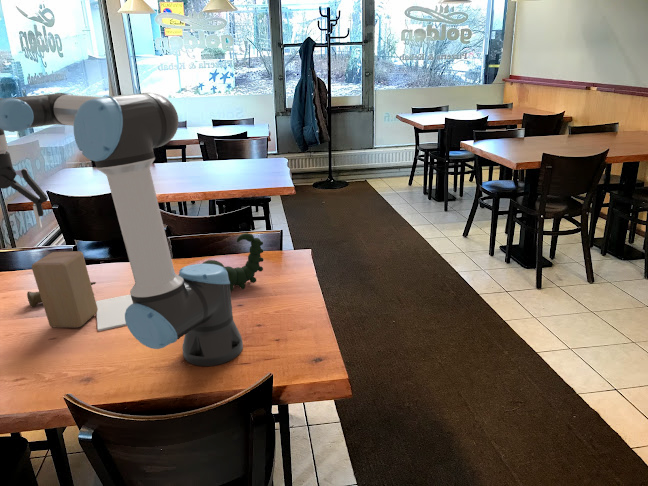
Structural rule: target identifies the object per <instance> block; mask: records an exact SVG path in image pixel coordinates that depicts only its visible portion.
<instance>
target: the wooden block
mask: <svg viewBox="0 0 648 486" xmlns="http://www.w3.org/2000/svg"><path fill="white" fill-rule="evenodd" d="M31 270H32V273H33V277H34V280H35V283H36V285H37V289H38V292H39V293H40V296H41V299H42V302H41V303H42V306H43V308H44V312H45V315H46V318H47V322H48V324H49V327H51V328H80V327H82V326H83V325H85V323H87V322H88V321H89V320H90V319H91V318H92V317H94V315H97V311H98V308H97V304H96V301H97V300H96V297H95V293H94V291H93V285H91V283H92V282H91V280H90V279H91V278H90V275H89V271H88V268H87V264H86V260H85V257H84V253H83V252H82V251H78V250H77V251H52V252H50V253H48V254H47V255H45V256H44V257H42V258H40V259H38V260H37V261H35V262H34V263H32V265H31Z"/></svg>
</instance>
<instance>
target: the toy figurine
mask: <svg viewBox="0 0 648 486" xmlns="http://www.w3.org/2000/svg"><path fill="white" fill-rule="evenodd" d="M244 240H245V241H246V242H250V247H249V254H248V256H247V261H246V263H245V265H243V266H241V267H232V266H225V265H224V264H223V263H222V262H220V261H219V260H214V259H208V260H206V261H203V262H202V263H201V264H215V265H219V266H222V267H224V268H225V269H226V270H227V272H228V278H229V281H230V292H232V291H233V290H234V288H235V287H239V289H241V290H244V289H245V288H246V283H247V282H249V281H250V283H251V284H252V283H253V284H255V283H256V282H257V277H255V273H257V272H263V271H264V267H263V266H262V265H261V264H260V263H262V262H264V258H263V257H262V256H261V254H263V253H264V249H263V248H262V247H261V246H263V245H264V242H263V241H262V240H261V239H260V238H258V237H254V235H253V234H252V233H247V232H246V233H245V232H244V233H242V234H240V235H239V236H238V237H237V239H236V242H237V243H239V242H241V241H244ZM234 286H235V287H234Z"/></svg>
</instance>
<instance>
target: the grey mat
mask: <svg viewBox="0 0 648 486" xmlns="http://www.w3.org/2000/svg"><path fill="white" fill-rule="evenodd" d="M95 301H96V304H97V308H98V311H97V313H96V324H97V331H98V332H102V331H107V330H111V329H115V328H119V327H121V328H122V327H125V326H127V324H126V321H125V312H126V309H127V308H128V307H129V306H130V305H131V304H133V301H132V298H131V294H126V295H125V294H124V295H120V296H115V297H111V298H105V299H101V300H95Z"/></svg>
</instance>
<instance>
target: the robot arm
mask: <svg viewBox="0 0 648 486" xmlns="http://www.w3.org/2000/svg"><path fill="white" fill-rule="evenodd" d="M52 125H53V126H54V125H62V126H70V127H71V126H73V138H74V141H75V143H76V147H77V148H78V150H79V151H80V152H81V153H82V155H83V157H84V158H87V159H88V160H90V161H93V162H94V164H95V167H96V170H97V171H99V172H100V173H102V174H104V175H105V176H106V178H107V181H108V185H109V189H110V193H111V197H112V200H113V204H114V208H115V211H116V216H117V220H118V223H119V227H120V231H121V235H122V238H123V242H124V246H125V249H126V253H127V258H128V261H129V265H130V269H131V272H132V276H133V279H134V284H133V286H132V287H131V289H130V291H129V293H130V294H131V298H132V301H133V304H131V305H130V306H129V307H128V308H127V309H126V312H125V321H126V324H127V325H126V327H127V329H128V330H129V332H130V333H131V334H132V336H133V337H134V338H135V339H136V340H137V341H138V342H139V343H140V344H142V345H143V346H145V347H147V348H149V349H153V350H160V349H164V348H165V347H167V346H170V345H171V344H174V343H176V342H177V341H178V340H179V339H181V338H182V337H184V338H183V342H182V349H181V350H182V355H183V359H185V361H186V362H187V363H189V364H192V365H194V366H198V367H213V366H214V367H215V366H218V365H222V364H225V363H228V362H230V361H232V360H234V359H235V358H237V357H238V356H239V355H240V354H241V353H242V351H243V348H244V345H243V338H242V335H241V332H240V331H239V329H238V327H237V325H236V323H235V321H234V315H233V304H232V296H231V295H232V294H231V291H230V281H229V278H228V272H227V270H226V269H225V268H224V267H225V266H224V267H222V266H219V265H215V264H202V263H196V264H188V265H186V266H183V267H181V268H180V270H179V272H178V274H176V272H175V268H174V264H173V260H172V255H171V251H170V247H169V243H168V238H167V236H166V229H165V226H164V221H163V217H162V215H161V209H160V206H159V201H158V198H157V194H156V190H155V184H154V181H153V176H152V172H151V166H152V164H153V163H154V161H155V160H156V156H155V153H154V149H156V148H159V147H162V146H165V145H166V144H168V143H169V142H170V141H171V140H172V139H173V138H174V137H175V135H176V134H177V132H178V129H179V115H178V112H177V109H176V108H175V106H174V105H173V103H172V102H171V101H170V100H169V99H168V98H166V97H165V96H163V95H160V94H157V93H153V92H141V93H134V94H133V93H132V94H120V95H108V96H107V95H106V96H93V95H92V96H91V95H90V96H88V95H76V94H75V95H73V93H69V92H57V93H56V92H55V93H51V94H50V93H49V94H41V95H39V94H38V95H27V96H26V95H25V96H13V97H0V189H1V190H2V189H8V188H9V187H10V188H11V189H13V190H15V191H17V192H18V193H19V194H20V195H22V196H23V197H25V198H27V200H29V201H31V202H32V203H33V205H32V208H33V213H34V218H35V222H36V226H37V230H42V228H43V224H42V220H41V217H43V215H44V208H43V204H44V203H46V202H47V201H48V199H49V198H48V195H47V194H46V193H45V192H44V191H43V189H42V188H41V187H40V186H39V185H38V184H37V183H36V182H35V180H34V179H33V178H32V176H31V175H30V174H29V173H30V172H29V170H28V168H26V167H23V168H22V169H21V168H20V169H16V170H15V169H14V167H13V163H12V159H11V158H12V157H11V155H10V152H8V151H7V150H8V149H9V146H8V143H7V138H6V133H5V131H6V132H10V133H16V132H22V131H26V130H28V129H33V128H38V127H43V126H52ZM17 176H18V177H20V178H23V181H25V182H26V183H27V184H28V185H27V186H29V187H30V188H31V190H33V192H34V193H35V194H36V195H35V194H34V193H32V192H31V191H29V190H28V189H27V188H26V187H24V186H23V185H21V184H20V183H19V182H18V181H17V180H15V178H16V177H17ZM130 294H129V295H130Z"/></svg>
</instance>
